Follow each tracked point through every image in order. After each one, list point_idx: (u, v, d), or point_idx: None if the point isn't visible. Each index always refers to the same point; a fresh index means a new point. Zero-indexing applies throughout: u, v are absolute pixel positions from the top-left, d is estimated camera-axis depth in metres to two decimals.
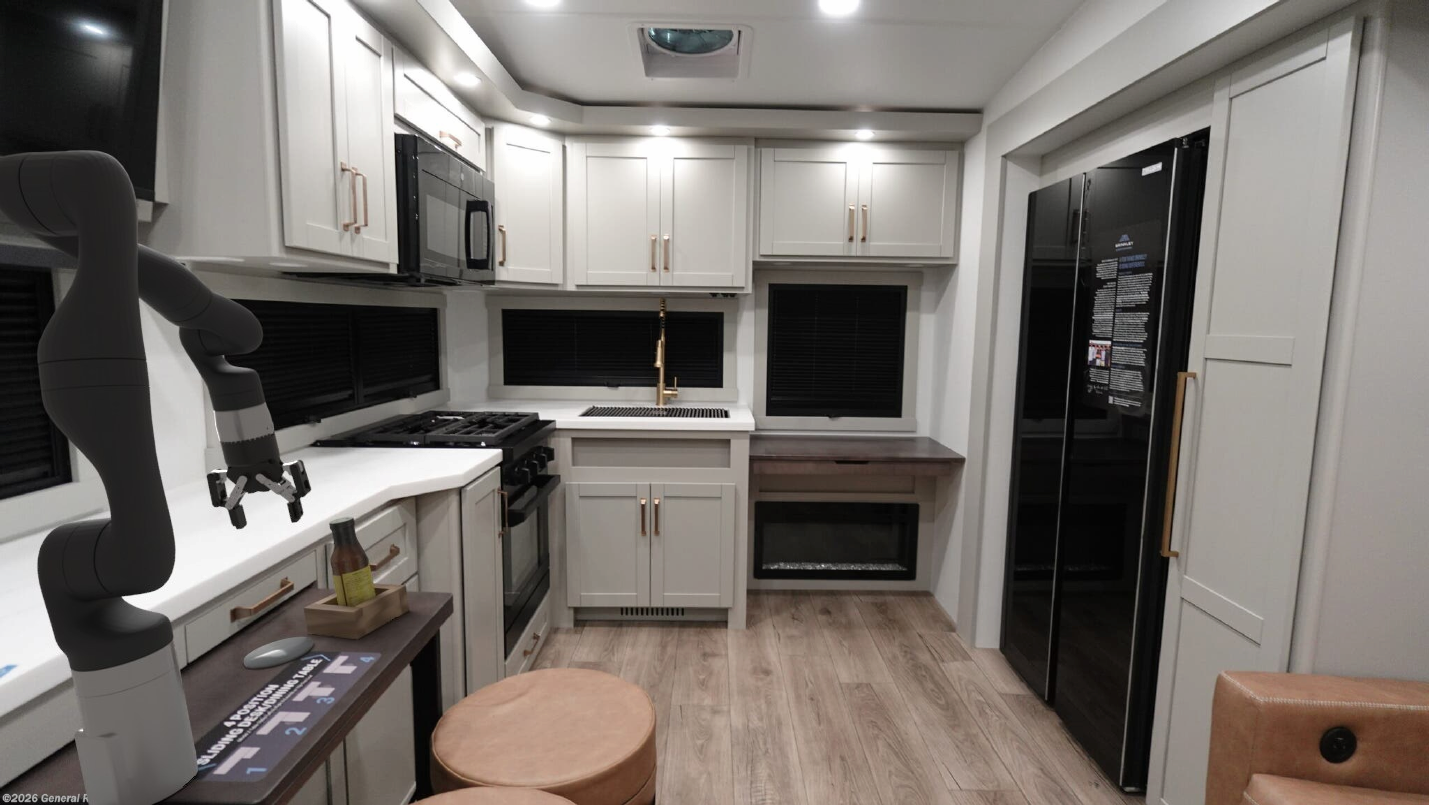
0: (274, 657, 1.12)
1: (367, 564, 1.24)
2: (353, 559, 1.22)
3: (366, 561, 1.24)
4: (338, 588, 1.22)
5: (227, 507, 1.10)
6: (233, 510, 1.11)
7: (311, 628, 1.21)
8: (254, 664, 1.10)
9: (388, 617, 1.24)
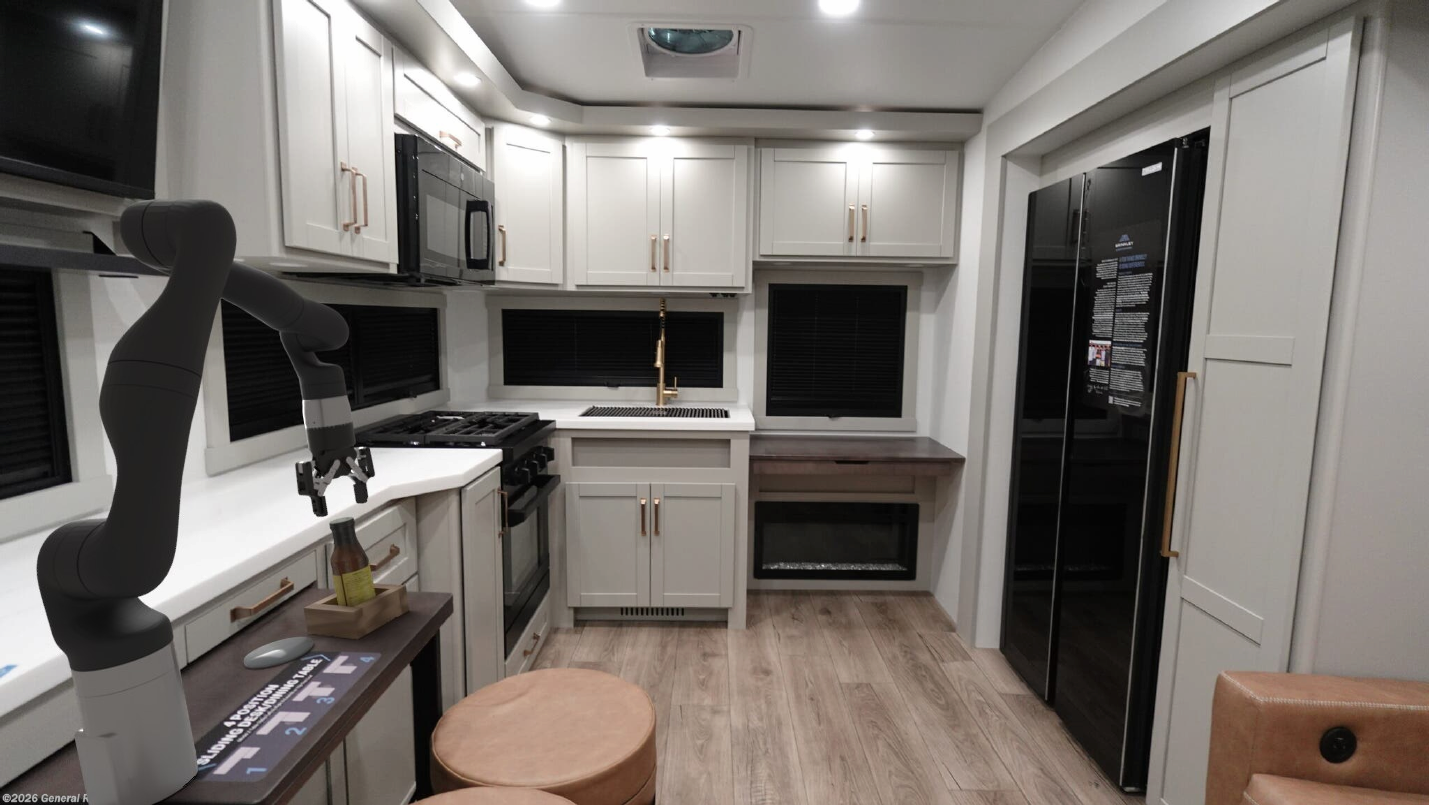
0: (274, 657, 1.12)
1: (367, 564, 1.24)
2: (353, 559, 1.22)
3: (366, 561, 1.24)
4: (338, 588, 1.22)
5: (320, 494, 1.17)
6: (323, 497, 1.18)
7: (311, 628, 1.21)
8: (254, 664, 1.10)
9: (388, 617, 1.24)
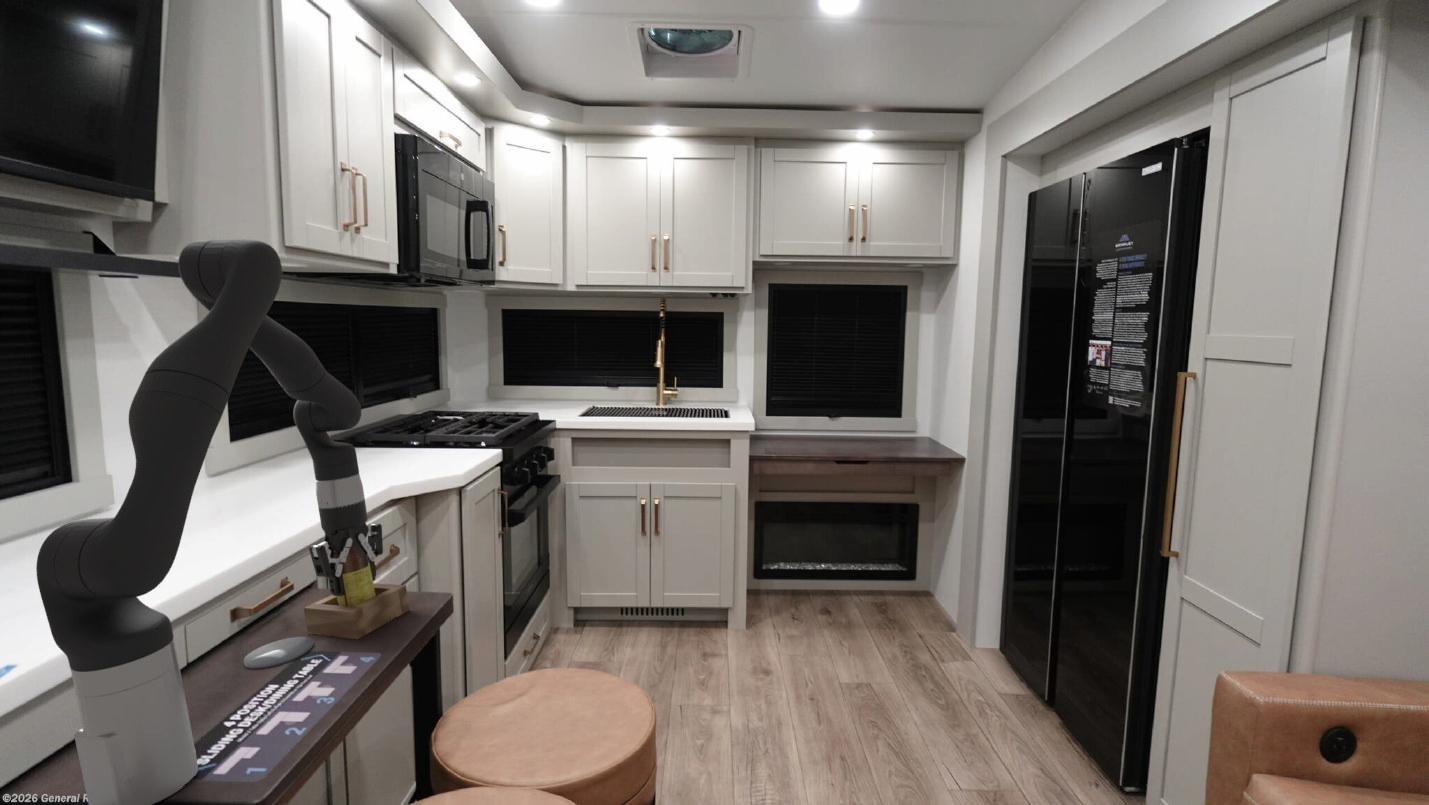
0: (274, 657, 1.12)
1: (367, 564, 1.24)
2: (353, 559, 1.22)
3: (367, 561, 1.24)
4: None
5: (337, 574, 1.20)
6: (340, 577, 1.21)
7: (311, 628, 1.21)
8: (254, 664, 1.10)
9: (388, 617, 1.24)
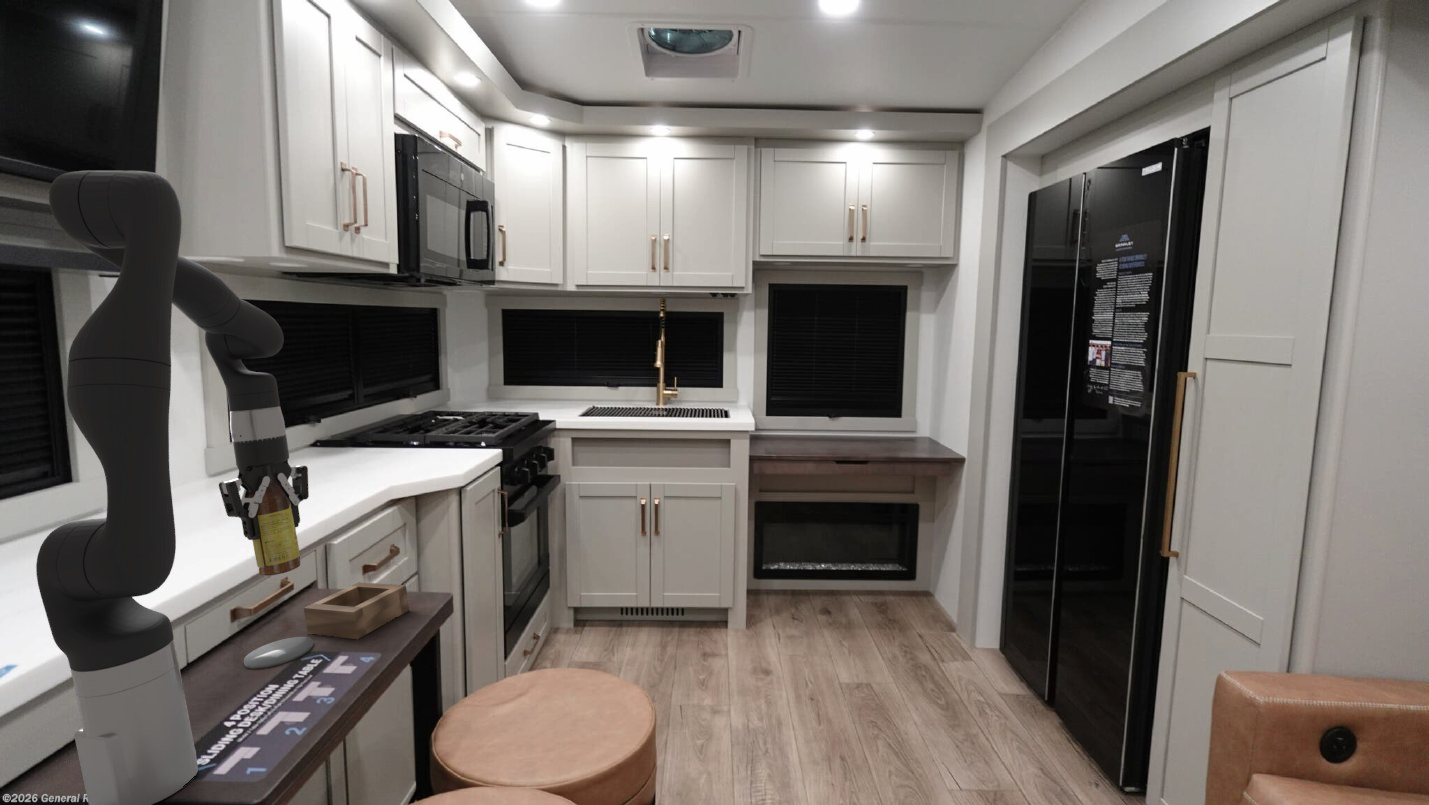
0: (274, 657, 1.12)
1: (287, 507, 1.13)
2: (270, 499, 1.11)
3: (287, 503, 1.13)
4: None
5: (251, 515, 1.09)
6: (255, 518, 1.10)
7: (311, 628, 1.21)
8: (254, 664, 1.10)
9: (388, 617, 1.24)
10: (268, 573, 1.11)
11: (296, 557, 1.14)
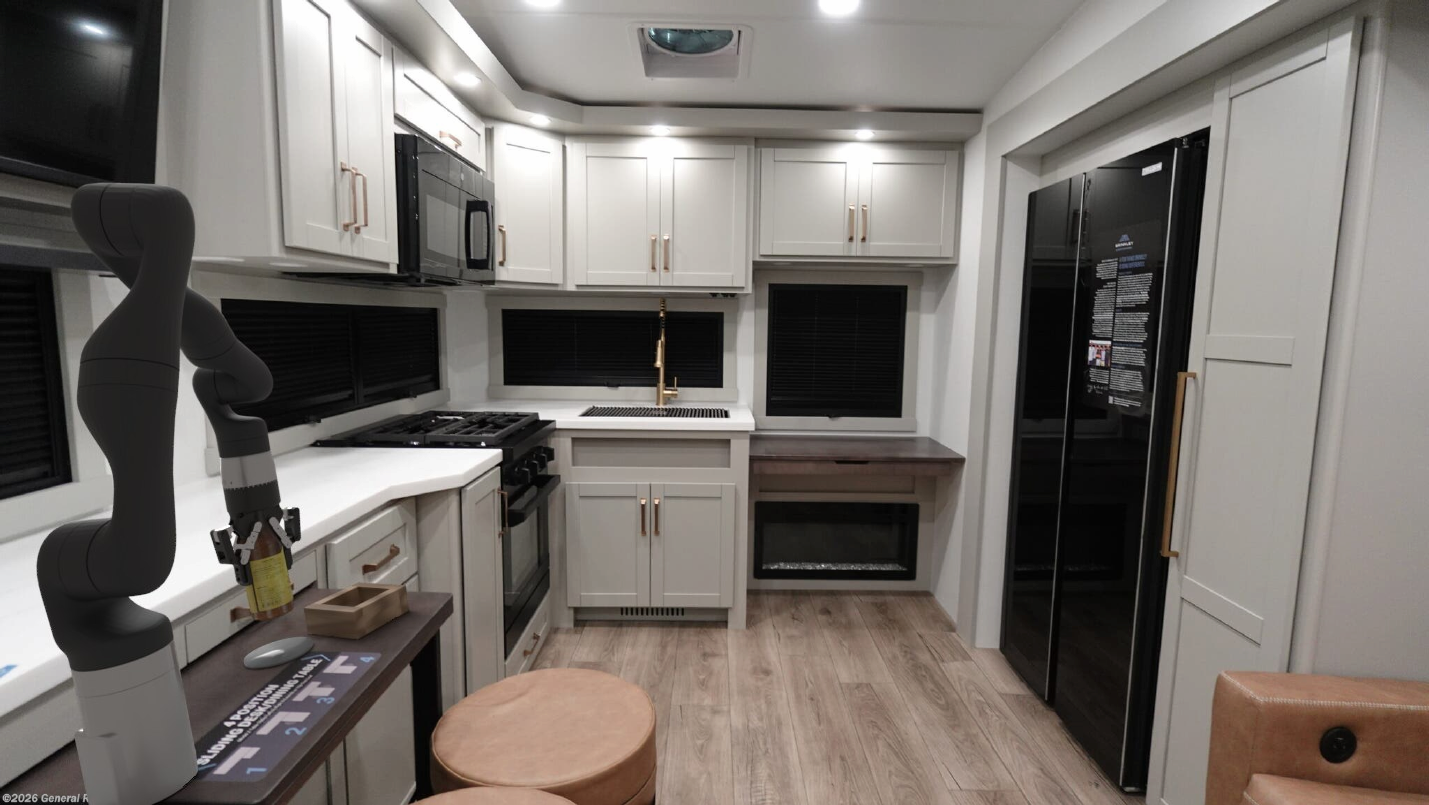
0: (274, 657, 1.12)
1: (280, 551, 1.13)
2: (262, 545, 1.10)
3: (279, 548, 1.13)
4: None
5: (243, 562, 1.08)
6: (247, 564, 1.09)
7: (311, 628, 1.21)
8: (254, 664, 1.10)
9: (388, 617, 1.24)
10: (261, 618, 1.11)
11: (289, 601, 1.13)
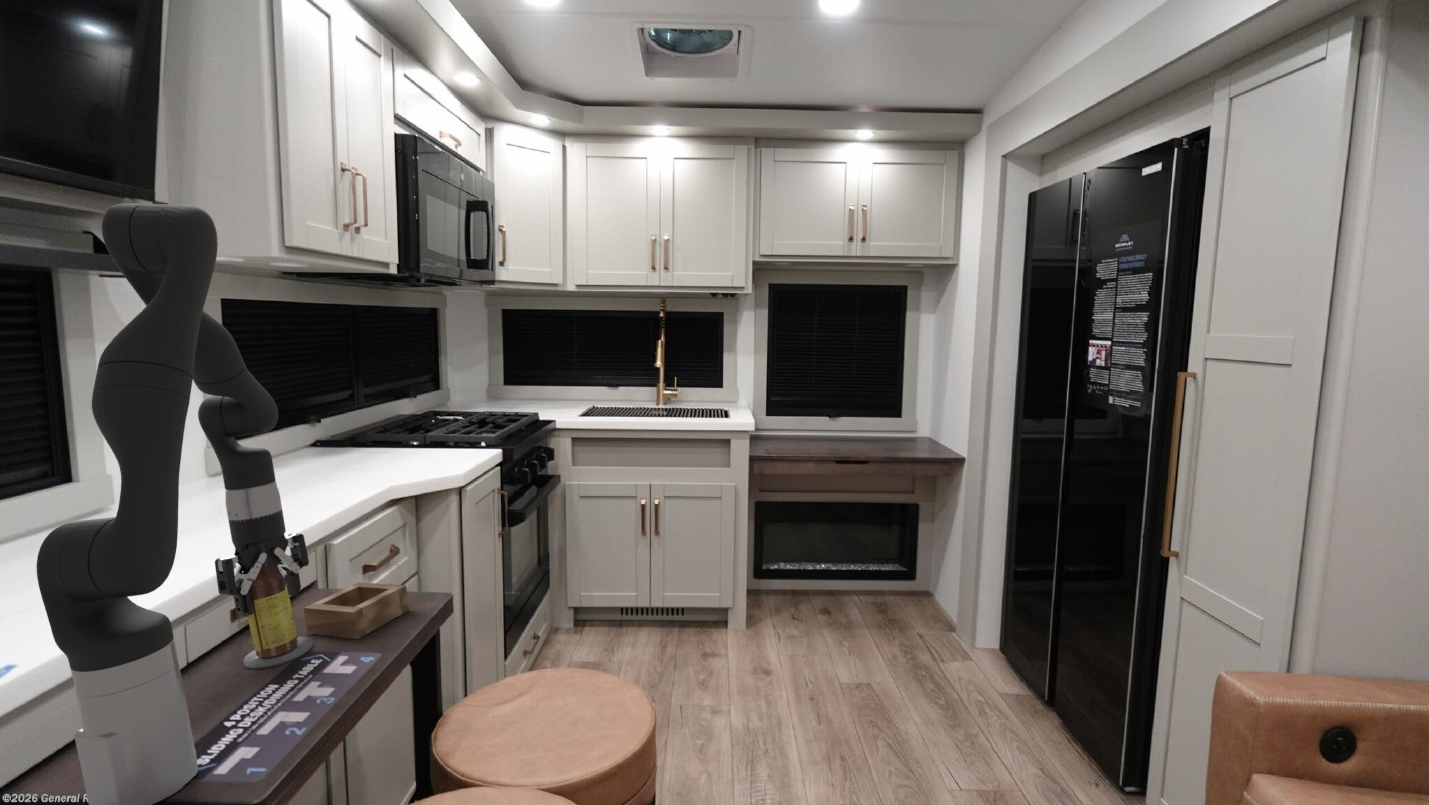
0: (274, 657, 1.12)
1: (284, 588, 1.13)
2: (266, 583, 1.11)
3: (283, 585, 1.13)
4: (249, 615, 1.10)
5: (243, 592, 1.08)
6: (247, 594, 1.09)
7: (311, 628, 1.21)
8: (254, 664, 1.10)
9: (388, 617, 1.24)
10: (265, 656, 1.11)
11: (293, 638, 1.14)
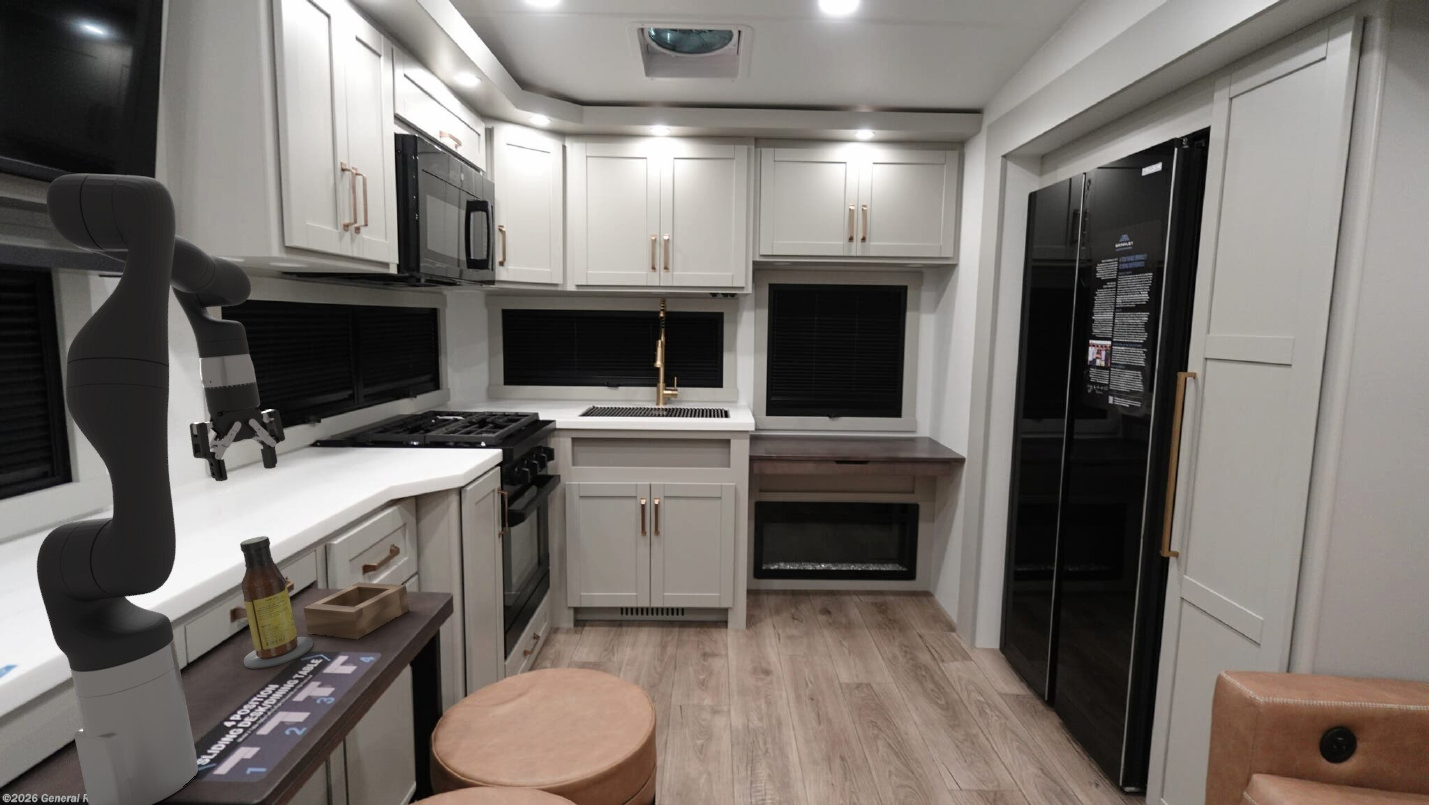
0: (274, 657, 1.12)
1: (284, 588, 1.13)
2: (266, 583, 1.10)
3: (283, 585, 1.13)
4: (249, 615, 1.10)
5: (217, 457, 1.11)
6: (222, 460, 1.12)
7: (311, 628, 1.21)
8: (254, 664, 1.10)
9: (388, 617, 1.24)
10: (265, 656, 1.11)
11: (293, 638, 1.14)
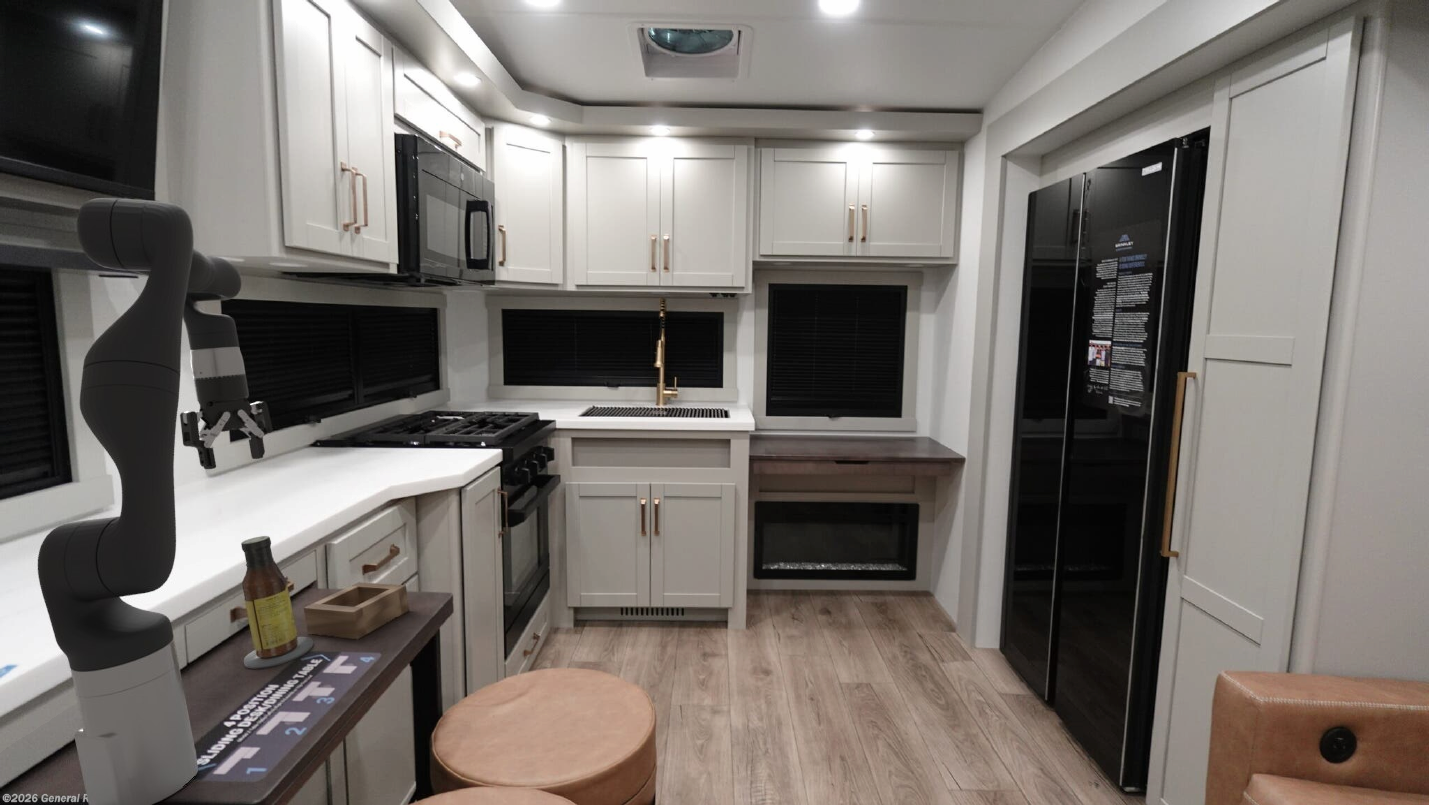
0: (274, 657, 1.12)
1: (284, 588, 1.13)
2: (267, 583, 1.11)
3: (284, 585, 1.13)
4: (250, 615, 1.10)
5: (206, 445, 1.15)
6: (210, 448, 1.16)
7: (311, 628, 1.21)
8: (254, 664, 1.10)
9: (388, 617, 1.24)
10: (265, 656, 1.11)
11: (293, 638, 1.14)
